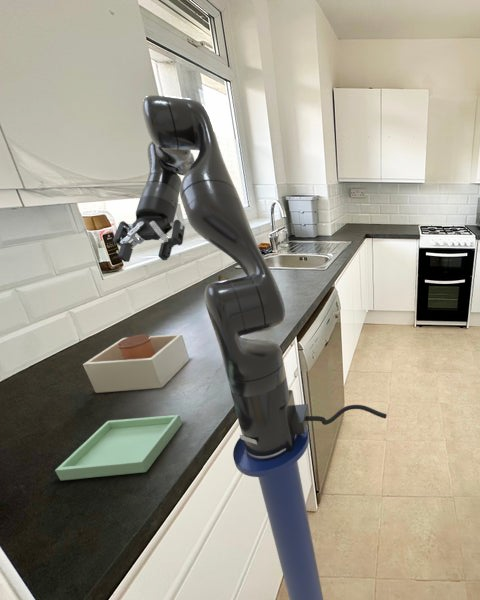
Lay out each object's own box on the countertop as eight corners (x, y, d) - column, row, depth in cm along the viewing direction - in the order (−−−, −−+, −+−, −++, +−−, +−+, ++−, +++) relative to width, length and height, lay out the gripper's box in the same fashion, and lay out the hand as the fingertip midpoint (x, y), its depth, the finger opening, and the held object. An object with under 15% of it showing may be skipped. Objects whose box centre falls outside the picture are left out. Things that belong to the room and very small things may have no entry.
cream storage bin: (189, 359, 85) (182, 334, 83) (162, 387, 74) (151, 359, 71) (132, 363, 84) (123, 337, 81) (95, 393, 72) (82, 364, 70)
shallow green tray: (182, 423, 63) (179, 414, 62) (146, 472, 52) (141, 462, 51) (111, 429, 61) (107, 420, 61) (60, 480, 51) (54, 470, 50)
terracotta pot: (166, 364, 82) (155, 333, 79) (151, 378, 76) (139, 346, 73) (140, 365, 81) (129, 335, 78) (123, 380, 76) (110, 347, 72)
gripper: (117, 195, 76) (97, 252, 69) (179, 193, 77) (165, 249, 71) (139, 215, 83) (122, 268, 76) (195, 213, 84) (184, 266, 77)
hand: (143, 259), depth 73 cm, fingers open, 8 cm apart
